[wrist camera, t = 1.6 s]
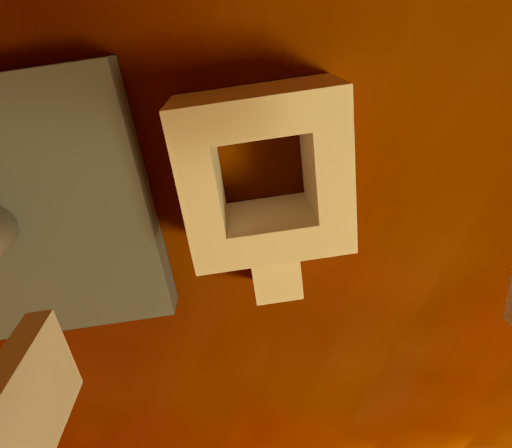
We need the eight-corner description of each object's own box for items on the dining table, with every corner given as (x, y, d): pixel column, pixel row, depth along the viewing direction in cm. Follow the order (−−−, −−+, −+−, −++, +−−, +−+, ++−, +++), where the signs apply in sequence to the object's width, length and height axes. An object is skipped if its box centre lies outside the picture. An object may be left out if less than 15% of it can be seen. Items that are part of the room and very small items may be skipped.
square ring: (172, 95, 24) (158, 111, 19) (329, 72, 24) (352, 83, 19) (211, 285, 29) (209, 332, 25) (339, 267, 29) (359, 311, 25)
